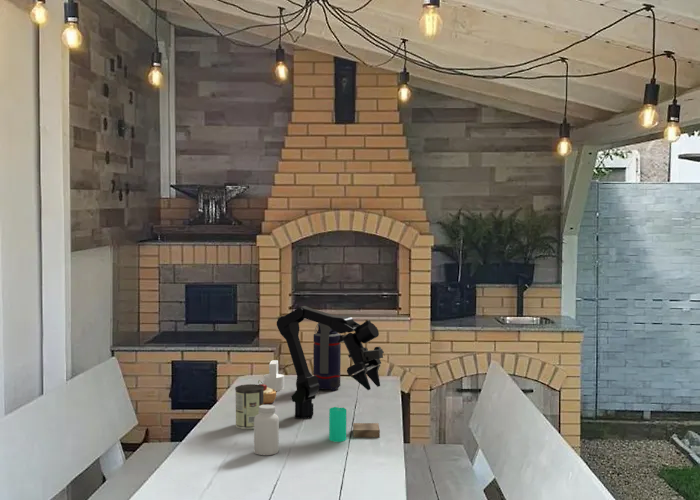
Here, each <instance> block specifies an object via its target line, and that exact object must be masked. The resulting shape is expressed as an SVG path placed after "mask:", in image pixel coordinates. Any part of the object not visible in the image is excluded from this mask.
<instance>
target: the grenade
mask: <svg viewBox="0 0 700 500" xmlns="http://www.w3.org/2000/svg"><path fill="white" fill-rule="evenodd" d="M340 335H342V334H340V333H337V332H336V331H334V330H332V329H331V328H330V327H329V326H327V325H324V324H321V323H318V322H317V323H316V326H315V328H314V334H313V350H312V351H313V360H312V364H313V366H312V367H313V371H312V373H313V374H312V375H313V376H314V375H316V376H317V380H318V383H319V384H320V385H319V390H322V389H323V390H330V391H332V392H334V391H337V390H336V389H338V388H340V387H341V365H342V363H341V358H342V357H341V353H342V352H341V350H342V349H341V348H342V347H341V346H342V345H341V343H338V340H339V338H340Z"/></svg>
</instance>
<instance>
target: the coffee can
mask: <svg viewBox="0 0 700 500" xmlns="http://www.w3.org/2000/svg"><path fill="white" fill-rule="evenodd" d="M234 389H235V428H238V429H240V428H241V430H254V418H255V416H256V415H257V414H259V413H258V412H259V406H261V405H264V404H263V397H264V395H263V390H264V387H263V386H261V385H259V384H251V383H249V384H241V385H237V386H235V388H234Z"/></svg>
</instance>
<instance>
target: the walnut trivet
mask: <svg viewBox="0 0 700 500" xmlns="http://www.w3.org/2000/svg"><path fill="white" fill-rule="evenodd" d="M352 427H353V428H352V433H353V438H380V437H381V436H380V433H381V430H380V425H379V423H378V422H375V423H374V422H361V423H360V422H353V423H352Z"/></svg>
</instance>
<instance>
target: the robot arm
mask: <svg viewBox="0 0 700 500" xmlns="http://www.w3.org/2000/svg"><path fill="white" fill-rule="evenodd" d="M305 319H306V320H309V321H313V322H315V323H317V324H318V323H321V324H324V325H327V326H329V327H330V328H331V329H332V330H334V331H336V332H337V333H339V334H341V335H340V338H339V340H338V343H340V344H341V343H344V345H345V347H346V349H347V351H348V353H349V354H348V355H347V356H348V358H350V359H352V362H353V364H352V365H350V366H349V367H347V369H346V373H347V375H348V377H351V378H352V379H354V380H355V381H356V382H358V383H359V384H360V385H361V386H362V387H364V388H365V389H366V390H367V391H371V385H370V382H369V380H368V379H370V380H371V382H372V383H374V385H375V386H376V387H377V388H379V387H381V381H380V376H379V375H380V374H379V369H380V367H381V364H382V362H381V359H383V358H384V353H385V352H384V350H383V348H382V347H381V346H374V348H373V349H372V350H371V349H370V350H369V349H368V348H367V347H366V346H365V347H364V345H363V344H368V343H369V342H370V341H372V340H374V339H376V338H378V337H379V335H380V334H379V333H380V332H379V329H378V327H377V326H376V325H375V324H374V323H372V322H371V320H370V319H369V320H366V321H364V322H363V323H362V324H360V323H358V322H356V321H355V320H354V318H353V317H352V316H349V315H340V314H339V315H338V314H337V315H336V314H335V315H334V314H330V313H328V312H324V311H321V310H317V309H314V308H311V307H309V306H307V305H303V306H299V307H297V308H296V309H294V310H292V311H291V312H289V313H287V314H286V315H283V316H279V317H278V318H277V321H276V327H277V330H278V332H279V334H280V335H281V336H282V337H283V338H284V340H285V341H286V343H287V347H288V350H289V354H290V358H291V360H292V364H293V367H294V370H295V373H296V382H295V387H296V390H295V392H294V393H293V394H292V395H291V398H290V399H291V401H292V402H293V403H294V419H312V418H313V416H314V403H313V400H314V399H315V398H316V396H317V394H318V393H319V392H320V391H319V390H320V389H319V385H320V384H319V383H318V380H317V376H316V375H314V374H312V373H311V372H310V370H309V366H308V363H307V360H306V356H305V354H304V350H303V347H302V344H301V340H300V337H299V334H300V323H302V322H303V320H305ZM352 332H353V333H352ZM345 333H346V334H345Z"/></svg>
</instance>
